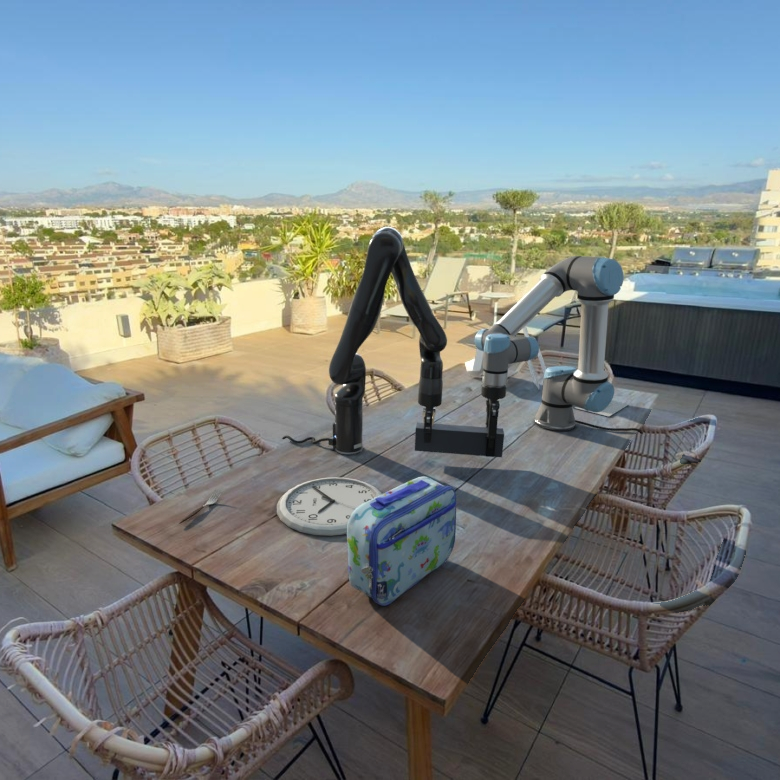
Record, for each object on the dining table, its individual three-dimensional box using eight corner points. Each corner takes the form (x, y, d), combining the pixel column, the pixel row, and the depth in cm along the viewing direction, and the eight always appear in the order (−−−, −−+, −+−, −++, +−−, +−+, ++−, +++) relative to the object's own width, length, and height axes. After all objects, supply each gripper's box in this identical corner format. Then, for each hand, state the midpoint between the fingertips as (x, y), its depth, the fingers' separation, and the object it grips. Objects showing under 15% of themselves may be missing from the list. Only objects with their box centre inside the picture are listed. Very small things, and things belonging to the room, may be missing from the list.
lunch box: (376, 619, 101) (377, 524, 95) (340, 592, 109) (339, 502, 102) (459, 562, 119) (465, 479, 113) (424, 542, 126) (427, 463, 120)
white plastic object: (486, 418, 267) (465, 395, 242) (467, 346, 289) (447, 318, 264) (556, 394, 255) (543, 367, 230) (531, 321, 277) (516, 289, 252)
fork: (175, 524, 132) (174, 517, 132) (215, 495, 146) (215, 489, 146) (183, 526, 131) (182, 519, 131) (223, 497, 146) (222, 490, 145)
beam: (500, 451, 172) (503, 428, 169) (501, 457, 167) (504, 434, 165) (415, 444, 175) (416, 422, 172) (414, 450, 170) (415, 428, 168)
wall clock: (392, 527, 129) (268, 531, 127) (391, 533, 130) (269, 537, 127) (383, 473, 158) (282, 475, 155) (383, 478, 158) (282, 480, 156)
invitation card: (608, 416, 214) (573, 407, 224) (608, 416, 214) (573, 408, 224) (628, 404, 229) (594, 396, 238) (628, 405, 229) (594, 397, 238)
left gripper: (420, 382, 173) (417, 430, 178) (417, 396, 159) (414, 447, 165) (442, 383, 172) (439, 431, 177) (441, 397, 158) (438, 449, 164)
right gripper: (480, 375, 171) (476, 440, 179) (483, 392, 154) (478, 464, 162) (504, 376, 171) (498, 441, 178) (509, 394, 153) (503, 465, 161)
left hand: (427, 439), depth 171 cm, fingers closed on beam, 5 cm apart
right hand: (489, 452), depth 170 cm, fingers closed on beam, 5 cm apart
